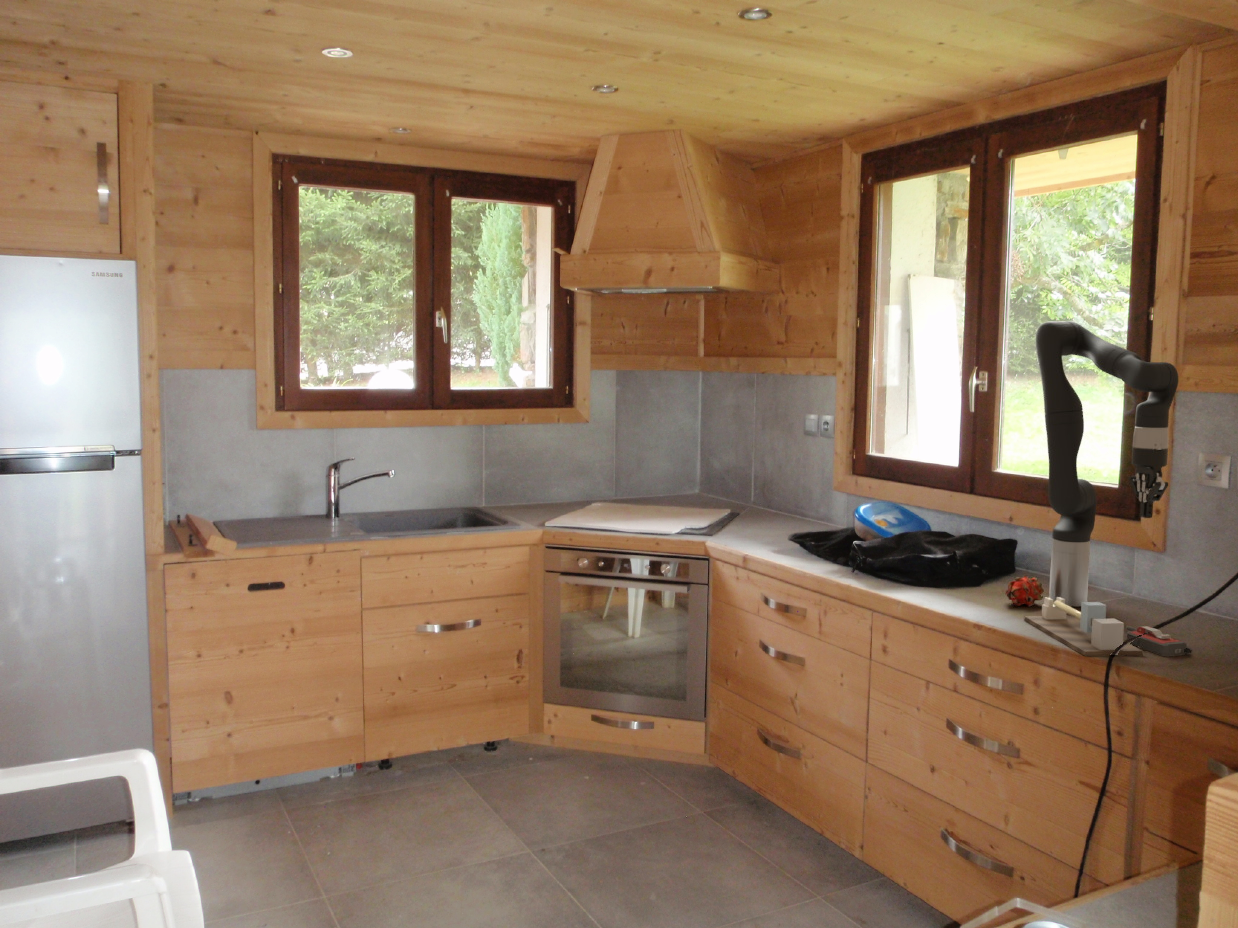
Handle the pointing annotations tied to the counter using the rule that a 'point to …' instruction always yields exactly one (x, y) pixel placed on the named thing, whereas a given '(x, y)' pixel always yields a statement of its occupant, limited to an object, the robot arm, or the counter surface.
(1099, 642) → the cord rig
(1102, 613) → the sleeve
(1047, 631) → the board
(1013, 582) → the dragon fruit
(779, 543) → the counter surface
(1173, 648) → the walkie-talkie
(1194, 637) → the counter surface
